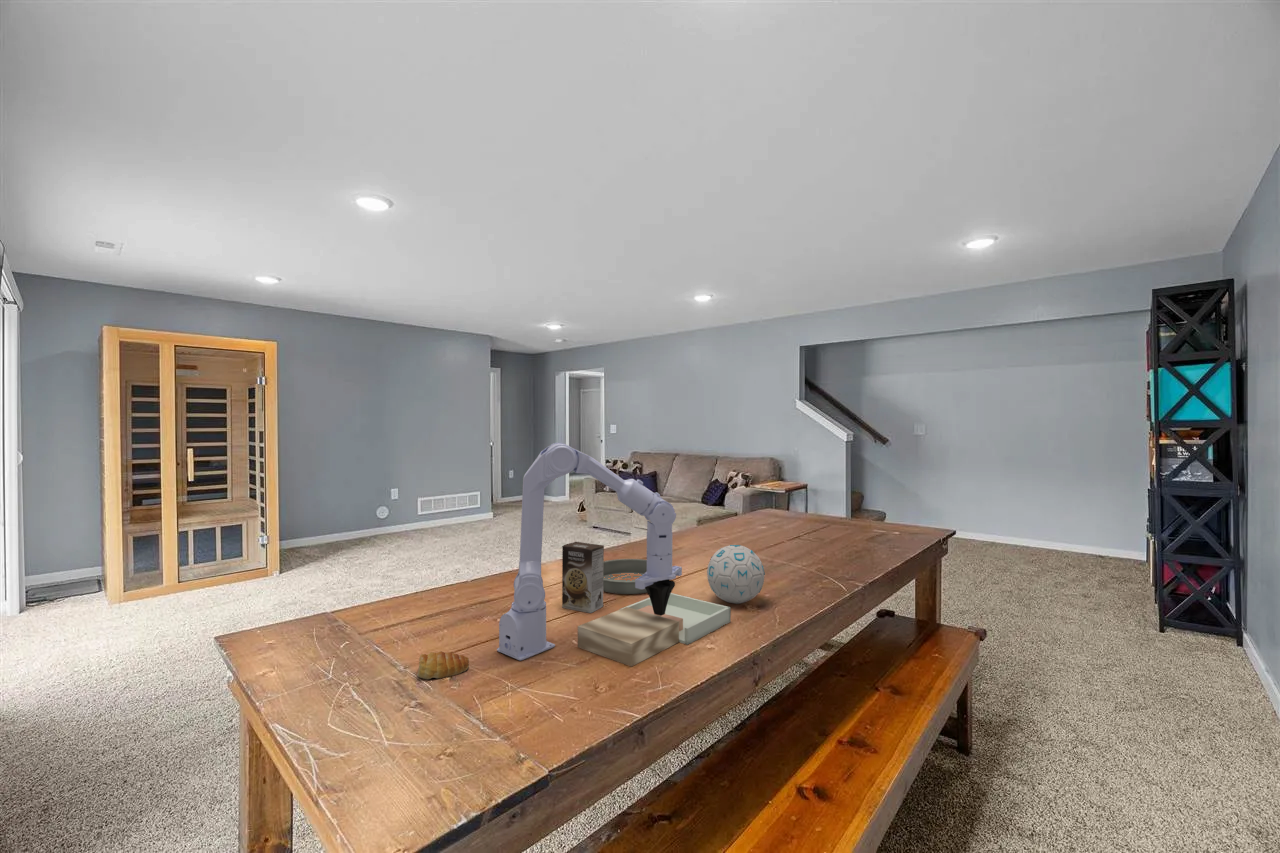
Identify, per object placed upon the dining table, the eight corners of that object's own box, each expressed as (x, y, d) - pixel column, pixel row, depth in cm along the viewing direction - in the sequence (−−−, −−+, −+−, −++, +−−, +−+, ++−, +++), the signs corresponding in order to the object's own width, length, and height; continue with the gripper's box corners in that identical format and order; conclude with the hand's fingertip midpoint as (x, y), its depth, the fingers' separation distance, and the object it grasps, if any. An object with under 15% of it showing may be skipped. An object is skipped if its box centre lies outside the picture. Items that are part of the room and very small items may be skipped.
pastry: (468, 662, 116) (468, 643, 116) (469, 676, 109) (469, 656, 109) (418, 668, 113) (418, 649, 112) (416, 683, 106) (416, 663, 106)
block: (631, 666, 113) (631, 643, 113) (577, 647, 123) (577, 626, 122) (678, 642, 125) (678, 621, 125) (626, 626, 135) (626, 607, 135)
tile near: (670, 636, 127) (670, 624, 127) (652, 631, 130) (652, 620, 130) (683, 629, 131) (683, 618, 131) (664, 624, 134) (664, 614, 134)
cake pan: (575, 578, 176) (575, 563, 176) (648, 569, 186) (648, 555, 186) (604, 601, 154) (604, 584, 154) (685, 590, 164) (685, 574, 164)
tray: (687, 644, 124) (687, 628, 124) (619, 623, 136) (619, 609, 136) (730, 621, 138) (730, 607, 138) (665, 604, 150) (665, 591, 150)
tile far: (665, 609, 137) (665, 620, 137) (648, 605, 140) (648, 615, 140) (652, 615, 133) (652, 625, 133) (635, 610, 136) (635, 621, 137)
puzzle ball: (775, 607, 149) (776, 549, 148) (724, 614, 143) (725, 554, 143) (744, 590, 163) (744, 537, 162) (696, 596, 157) (696, 542, 157)
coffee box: (560, 608, 148) (560, 545, 147) (575, 601, 153) (575, 540, 153) (591, 613, 143) (591, 549, 143) (604, 606, 149) (604, 544, 149)
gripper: (653, 562, 120) (653, 627, 120) (692, 549, 131) (692, 609, 131) (627, 557, 124) (627, 619, 124) (667, 545, 135) (667, 602, 136)
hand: (659, 613), depth 128 cm, fingers closed
